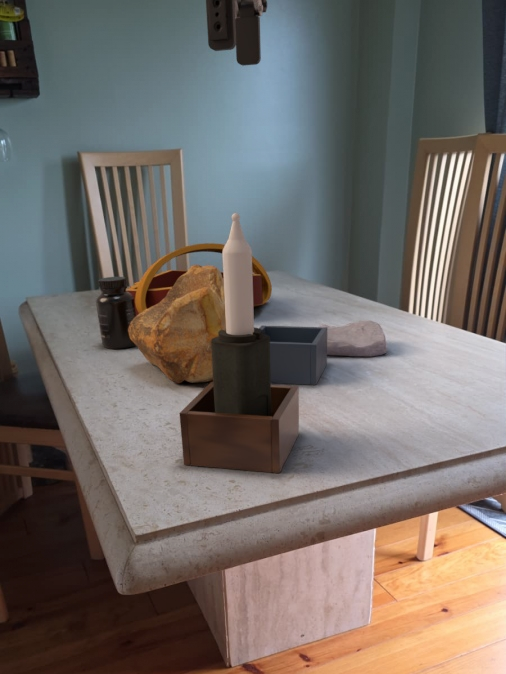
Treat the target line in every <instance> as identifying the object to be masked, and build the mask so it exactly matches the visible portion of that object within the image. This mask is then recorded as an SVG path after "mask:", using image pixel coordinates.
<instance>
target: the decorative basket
mask: <svg viewBox="0 0 506 674" xmlns="http://www.w3.org/2000/svg"><path fill="white" fill-rule="evenodd" d="M225 245H226V244H223V243H215V242H214V243H213V242H212V243H209V242H208V243H207V242H205V243H196V244H191V245H187V246H184V247H180V248H178V249H176V250H173V251H171V252H170V253H167V254H165V255H164V256H162V257H160V258H159V259H157V260H156V261H155V262H154V263H153V264H151V265H150V266H149V267H148V268H147V270H146V271H145V272H144V273H143V276H141V278H140V280H139V281H137V282H134V283H133V285H131V286H130V287H129V288H126V291H127V292H129V293H130V294H132V296H133V297H134V303H135V310H136V316H137V315H138V314H140V313H141V312H142V311H144V310H145V309H148V308H150V307H152V306H154V305H156V304H158V303H160V302H161V301H162V300H163V299H164V298H165V297H166V295H167V293H168V292H169V290H170V288H171V287H173V286H174V284H175V282H176V281H177V280H178V278H179V277H180V276H182V275H183V274H185V273H186V272H187V271H188V270H182V269H181V270H178V269H169V270H166V271H165V270H164V271H162V272H159V270H160V269H161V268H162V267H163V266H164V265H166V264H167V263H168V262H170V261H171V260H173V259H175V258H176V257H180V256H183V255H187V254H193V253H200V252H201V253H202V252H203V253H204V252H205V253H206V252H207V253H208V252H209V253H218V254H222V252H223V248H224V246H225ZM158 272H159V273H158ZM220 273H221V275H222V278H223V281H224V275H223V271H220ZM252 277H253V308H254V307H259V306H261V305H264V304H266V303H267V302H268V301H269V300H270V298H271V296H272V293H273V291H272V290H273V287H272V286H273V285H272V282H271V279H270V276H269V274H268V273H267V271H266V269H265V267H264V266H263V265H262V264H261V263H260V261H259V260H257V258H256V257H254V256H253V255H252Z"/></svg>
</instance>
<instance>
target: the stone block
mask: <svg viewBox="0 0 506 674" xmlns="http://www.w3.org/2000/svg"><path fill="white" fill-rule="evenodd" d="M317 327H322V328H323V327H327V328H328V329H327V356H343V357H377V356H382V355H384V354H386V353H387V350H388V349H387V348H388V347H387V346H388V345H387V340H386V335H385V332H384V330H383V328H382V326H381V324H380V323H378V322H377V321H376V322H375V321H372V320H361V321H360V320H359V321H356V322H350V323H347V324H345V325H341V326H335V325H334V326H330V325H327V324H320V325H318V326H317Z"/></svg>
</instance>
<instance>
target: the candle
mask: <svg viewBox="0 0 506 674" xmlns="http://www.w3.org/2000/svg"><path fill="white" fill-rule="evenodd" d="M230 218H231V220H232V223H231V227H230V232H229V236H228V239H227V240H226V243H225V244H224V245H225V246H224V248H223V252H222V253H221V254H222V272H223V275H224V296H225V316H226V330H220V331H219V332H218V337H215V338H212V339H211V351H212V368H213V380H212V382H213V385H214V403H215V413H226V414H241V415H257V416H271V385H272V383H271V372H270V337H269V336H268V335H264V334H262V330H261V329H259V328H260V327H256V326H255V319H254V318H255V315H254V313H255V312H254V307H253V277H252V274H253V272H252V256H253V250H252V247H251V246H250V244H249V243H248V241H247V240H246V238H245V235H244V232H243V231H244V230H243V229H242V228H243V227H242V226H241V222H240V220H241V215H240V214H239V213H238V212H234V213H233V214H232V215H231V217H230Z"/></svg>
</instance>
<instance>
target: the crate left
mask: <svg viewBox="0 0 506 674" xmlns="http://www.w3.org/2000/svg"><path fill="white" fill-rule="evenodd" d="M299 404H300V387H299V386H298V385H279V384H271V416H257V415H241V414H226V413H215V403H214V385H213V381H210V382H209V383H208V385H206V386H205V387H204V388H203V389H202V390H201V391H200V392H199V393H198V394H197V395H195V397H194V398H193V399H192V400H191V401H190V402H189V403H188V404H187V405H186V406H185V407H184V408H183V409H182V410H181V411H180V412H179V422H180V423H179V424H180V425H179V426H180V433H181V434H180V435H181V448H182V458H183V459H182V460H183V465H184V466H194V467H205V468H216V469H226V470H227V469H228V470H238V471H239V470H240V471H249V472H250V471H251V472H263V473H273V474H280V473H281V471H282V470H283V467H284V465H285V463H286V461H287V459H288V457H289V455H290V453H291V451H292V449H293V447H294V444H295V443H296V440H297V439H298V436H299V434H300V405H299Z"/></svg>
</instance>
